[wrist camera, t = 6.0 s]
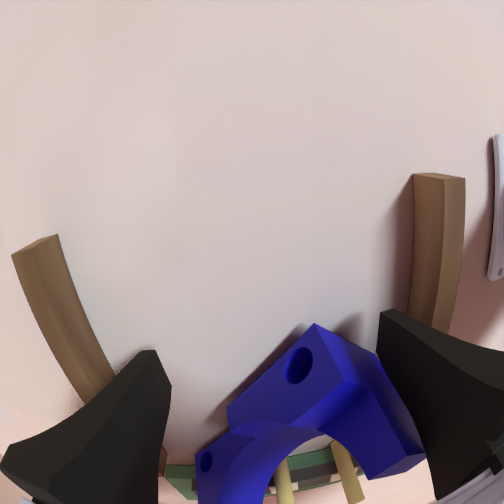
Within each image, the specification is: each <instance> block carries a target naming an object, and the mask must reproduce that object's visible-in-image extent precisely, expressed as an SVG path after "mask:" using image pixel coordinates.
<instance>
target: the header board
mask: <svg viewBox="0 0 504 504" xmlns="http://www.w3.org/2000/svg"><path fill="white" fill-rule="evenodd" d="M330 447H331V448H327V449H323V450H319V451H315V452H310V453H306V454H301V455H296V456H291V457H285V459H284V460H283V461H282V462H281V463H280V465H279V466H278V467H277V469H276V470H275V472H274V473H273V475H272V477H271V479H270V481H269V483H268V486H267V488H266V491H265V495H264V497H265V496H273V495H277V502H278V504H295V500H294V495H293V492H298V491H303V490H308V489H312V488H317V487H321V486H325V485H329V484H333V483H337V482H340V481H341V482H342V485H343V488H344V491H345V494H346V498H347V501H348V504H355V503H358V502H360V501H362V500H364V499H365V497H364V495H363V492H362V489H361V486H360V483H359V480H358V477H357V476H360V475H363V474H365V473H364V471H363V469H362V468H361V466H360V465H359V463H358V462H357V460H356V459H355V458H354V457H353V456H352V454H351V453H350V452H349V451H348V450H347V449H346V448H345V447H344V446H343V445H341V444H340V443H339V442H338V441H336V440H335V441H333V442H331V443H330ZM165 479H166V480H167V481H168V482H169V483H171V484H172V485H173V486H174V487H175V488H176V489H177V490H178V491H179V492H180V493H181V494H182V495H183V496H184V497H185V498H187V499H188V500H198V494H197V481H196V466H178V465H167V467H166V474H165Z"/></svg>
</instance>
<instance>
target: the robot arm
mask: <svg viewBox="0 0 504 504" xmlns="http://www.w3.org/2000/svg"><path fill="white" fill-rule="evenodd" d="M493 148H494V163H495V209H494V225H493V236H492V245H491V253H490V260H489V266H488V272H487V277H488V279H489V280H490V281H492V282H494V281H496V280H498V279H501V278H503V277H504V135H502V134H495V136H494V138H493ZM376 353H377V356H378V358H379V360H380V363H381V365H382V367H383V369H384V371H385V373H386V375H387V377H388V378H389V380H390V381H391V383H392V385H393V386H394V388H395V390H396V391H397V393H398V395H399V396H400V398H401V399H402V401H403V403H404V404H405V406H406V408H407V409H408V411H409V413H410V415H411V417H412V419H413V422H414V424H415V427H416V429H417V431H418V434H419V437H420V439H421V442H422V445H423V448H424V451H425V454H426V458H427V461H428V465H429V468H430V472H431V477H432V482H433V487H434V493H435V498H436V500H437V502H435V503H433V504H504V351H498V350H494V349H489V348H485V347H481V346H478V345H474V344H471V343H468V342H465V341H462V340H460V339H457V338H455V337H452V336H450V335H447V334H445V333H443V332H441V331H439V330H436V329H434V328H432V327H430V326H428V325H426V324H424V323H422V322H420V321H418V320H416V319H414V318H412V317H410V316H408V315H406V314H404V313H402V312H400V311H398V310H395V309H390V310H387V311H383V312H380V319H379V329H378V338H377V346H376ZM171 388H172V385H171V383H170V381H169V379H168V377H167V375H166V373H165V371H164V368H163V366H162V364H161V362H160V360H159V357H158V355H157V353H156V350H145V351H141V352H140V353H138V354H137V355H136V356H135V357H134V358H133V359H132V360H131V361H130V362H129V363H128V364H127V366H126V367H125V368H124V369H123V370H122V371H121V372H120V373H119V374H118V375H117V376H116V377H115V378H114V379H113V380H112V381H111V382H110V383H109V384H108V385H107V386H106V387H105V388H104V389H103V390H102V391H100V392H99V393H98V394H97V395H96V396H95V397H94V398H93V399H92V400H91V401H89V402H88V403H87V404H86V405H85V406H83V407H82V408H81V409H79V410H78V411H77V412H75V413H74V414H73V415H71V416H70V417H68V418H67V419H65V420H63V421H62V422H60V423H59V424H57V425H55V426H54V427H52V428H50V429H48V430H46V431H44V432H42V433H40V434H38V435H36V436H33V437H31V438H28V439H25V440H23V441H20V442H17V443H14V444H10V445H9V447H8V449H7V451H6V453H5V455H4V457H3V459H2V461H1V463H0V470H1V472H2V473H4V475H5V476H7V477H8V478H9V479H10V480H11V481H12V482H14V483H15V484H16V485H17V486H19V487H20V488H21V489H23V490H24V491H25V492H27V493H28V494H29V495H31V496H32V497H33V499H32V501H30V500H28V499H26V498H24V497H22V498H21V501H20V503H19V504H158V474H159V459H160V452H161V447H162V442H163V438H164V433H165V429H166V424H167V419H168V415H169V410H170V402H171Z"/></svg>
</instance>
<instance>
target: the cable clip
mask: <svg viewBox="0 0 504 504" xmlns="http://www.w3.org/2000/svg"><path fill="white" fill-rule="evenodd" d="M226 408H227V416H228V424H229V431H228V432H227V433H226V434H224V435H223V436H221V437H220V438H219V439H217V440H216V441H214V442H213V443H212V444H210V445H209V446H207V447H206V448H204V449H203V450H201V451H200V452H198V453H197V454H195V466H196V481H197V494H198V504H263V498H264V495H265V491H266V488H267V486H268V483H269V481H270V479H271V477H272V475H273V473H274V472H275V470H276V469H277V467H278V466H279V465H280V463H281V462H282V461H283V460H284V459H285V457H286V456H287V455H288V454H290V453H291V452H292V451H293V450H294V449H296V448H297V447H298V446H300V445H301V444H303V443H304V442H306V441H308V440H310V439H312V438H315V437H317V436H321V435H324V434H326V435H328V436H330V437H332V438H333V439H335V440H336V441H338V442H339V443H340V444H341V445H343V446H344V447H345V448H346V449H347V450H348V451H349V452H350V453H351V454H352V456H353V457H354V458H355V459H356V460H357V462H358V463H359V465H360V466H361V468H362V469H363V471H364V473H365V475H366V477H367V479H368V480H373V479H378V478H383V477H387V476H392V475H396V474H400V473H404V472H406V471H408V470H410V469H411V468H413V467H414V466H415V465H417V464H418V463H420V462H421V461H423V460H424V459H425V458H426V454H425V451H424V448H423V445H422V442H421V439H420V437H419V434H418V431H417V429H416V427H415V424H414V422H413V419H412V417H411V415H410V413H409V411H408V409H407V408H406V406H405V404H404V403H403V401H402V399H401V398H400V396H399V395H398V393H397V391H396V390H395V388H394V386H393V385H392V383H391V381H390V380H389V378H388V377H387V375H386V373H385V371H384V369H383V367H382V365H381V363H380V361H379V359H378V358H377V356H376V355H375V354H373V353H371V352H369V351H367V350H365V349H363V348H361V347H359V346H357V345H355V344H353V343H351V342H349V341H348V340H346V339H344V338H342V337H340V336H338V335H336V334H334V333H332V332H330V331H328V330H326V329H324V328H323V327H321V326H319V325H317V324H315V323H313V324H312V326H311V327H310V328H309V329H308V330H307V331H306V332H305V333H304V334H303V335H302V336H301V337H300V338H299V339H298V340H297V341H296V342H295V343H294V344H293V345H292V346H291V347H290V348H289V349H288V350H287V351H286V352H285V353H284V354H283V355H282V356H281V357H280V358H279V359H278V360H277V361H276V362H275V363H274V364H273V365H272V366H271V367H270V368H269V369H268V370H267V371H266V372H265V373H264V374H263V375H261V376H260V377H259V378H258V379H257V380H256V381H255V382H254V383H253V384H252V385H251V386H250V387H248V388H247V389H246V390H245V391H244V392H243V393H242V394H241V395H240V396H238V397H237V398H236V399H235V400H234V401H233V402H232V403H230V404H229V405H228V406H227V407H226Z"/></svg>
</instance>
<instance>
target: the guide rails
mask: <svg viewBox="0 0 504 504" xmlns="http://www.w3.org/2000/svg"><path fill="white" fill-rule="evenodd" d="M413 190H414V244H413V263H412V276H411V286H410V296H409V304H408V311H407V315H408V316H410V317H412V318H414V319H416V320H418V321H420V322H422V323H424V324H426V325H428V326H430V327H432V328H434V329H436V330H439V331H441V332H443V333H445V334H447V333H448V329H449V325H450V321H451V316H452V312H453V307H454V302H455V297H456V292H457V286H458V280H459V274H460V267H461V259H462V250H463V239H464V225H465V178H461V177H455V176H450V175H444V174H438V173H420V174H413ZM11 257H12V260H13V263H14V266H15V269H16V272H17V275H18V278H19V280H20V283H21V286H22V288H23V291H24V293H25V296H26V298H27V301H28V303H29V305H30V308H31V310H32V312H33V315H34V317H35V319H36V321H37V323H38V325H39V327H40V329H41V331H42V333H43V335H44V337H45V339H46V341H47V343H48V345H49V347H50V349H51V351H52V352H53V354H54V356H55V358H56V359H57V361H58V363H59V365H60V366H61V368H62V370H63V371H64V373H65V375H66V376H67V378H68V379H69V381H70V383H71V384H72V386H73V387H74V389H75V390H76V392H77V393H78V395H79V396H80V398H81V399H82V400H83V402H84V403H85V405H86V404H87V403H88V402H89V401H91V400H92V399H93V398H94V397H95V396H96V395H97V394H98V393H99V392H100V391H102V390H103V389H104V388H105V387H106V386H107V385H108V384H109V383H110V382H111V381H112V380H113V379H114V378H115V377H116V376H115V374H114V372H113V370H112V368H111V366H110V365H109V363H108V361H107V359H106V357H105V355H104V353H103V351H102V349H101V347H100V345H99V343H98V341H97V339H96V337H95V335H94V332H93V330H92V328H91V326H90V324H89V321H88V319H87V317H86V315H85V312H84V310H83V307H82V305H81V302H80V300H79V297H78V295H77V292H76V290H75V287H74V284H73V282H72V279H71V276H70V273H69V270H68V267H67V264H66V261H65V258H64V255H63V252H62V248H61V245H60V241H59V238H58V234H56V235H52V236H49V237H46V238H42V239H39V240H37V241H35V242H33V243H31V244H30V245H28V246H26V247H24V248H22V249H21V250H19V251H17V252H15V253H13V254H12V255H11ZM166 460H167V452H166V451H165V450H164V449H163V447H161V452H160V459H159V474H158V477H164V474H165V466H166Z"/></svg>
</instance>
